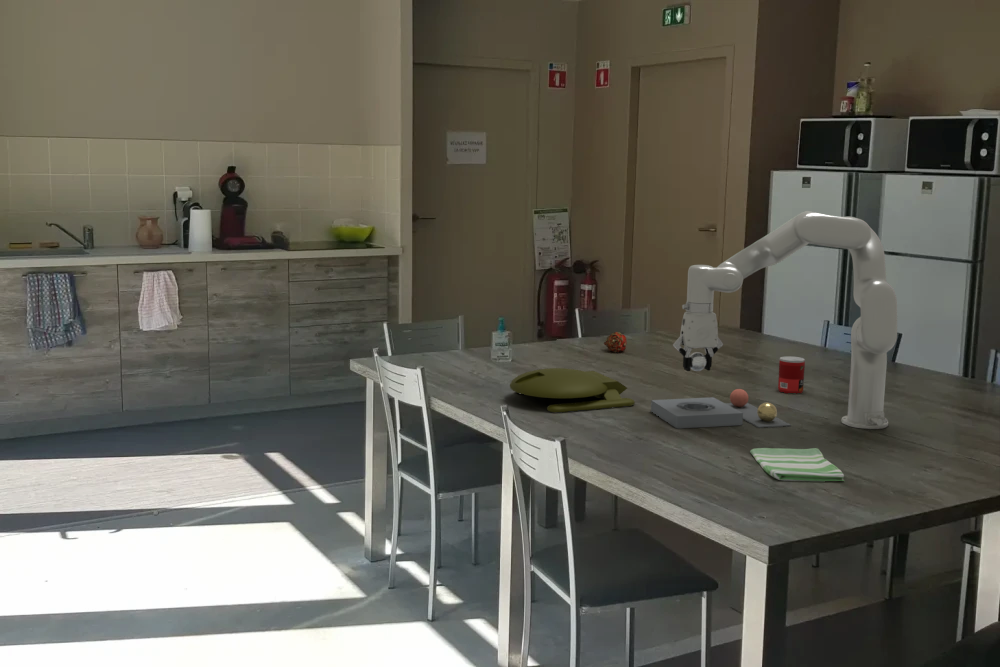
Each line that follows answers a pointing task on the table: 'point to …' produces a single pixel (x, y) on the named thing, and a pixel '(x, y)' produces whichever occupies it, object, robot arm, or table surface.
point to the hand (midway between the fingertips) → (697, 369)
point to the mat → (752, 417)
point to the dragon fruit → (616, 342)
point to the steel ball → (698, 361)
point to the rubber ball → (739, 397)
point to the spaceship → (571, 388)
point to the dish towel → (796, 464)
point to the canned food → (791, 374)
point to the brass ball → (767, 412)
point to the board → (696, 412)
